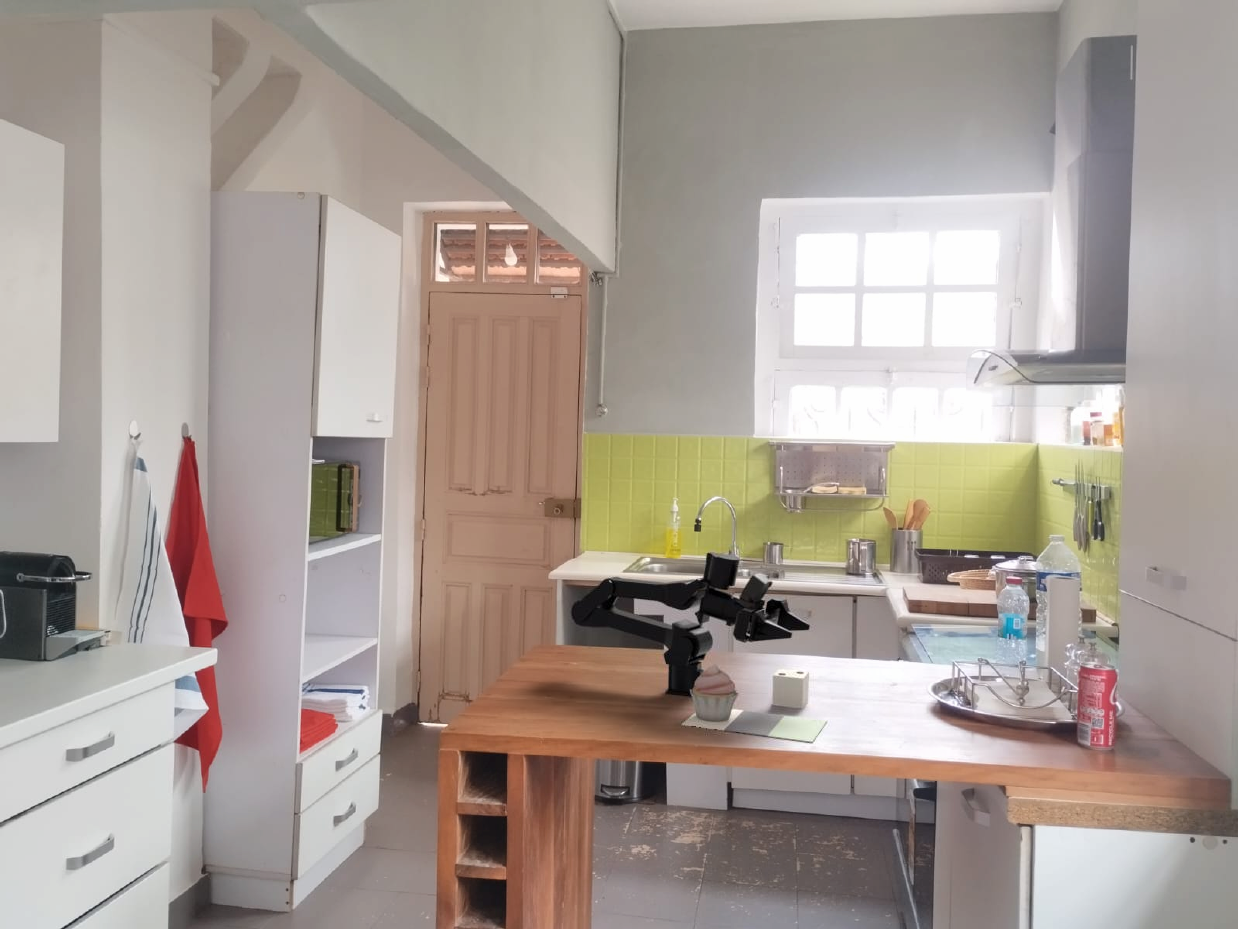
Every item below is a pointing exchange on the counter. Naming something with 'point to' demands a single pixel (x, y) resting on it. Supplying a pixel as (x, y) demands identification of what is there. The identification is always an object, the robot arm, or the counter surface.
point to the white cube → (790, 688)
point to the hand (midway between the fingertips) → (800, 631)
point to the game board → (764, 725)
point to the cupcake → (713, 695)
